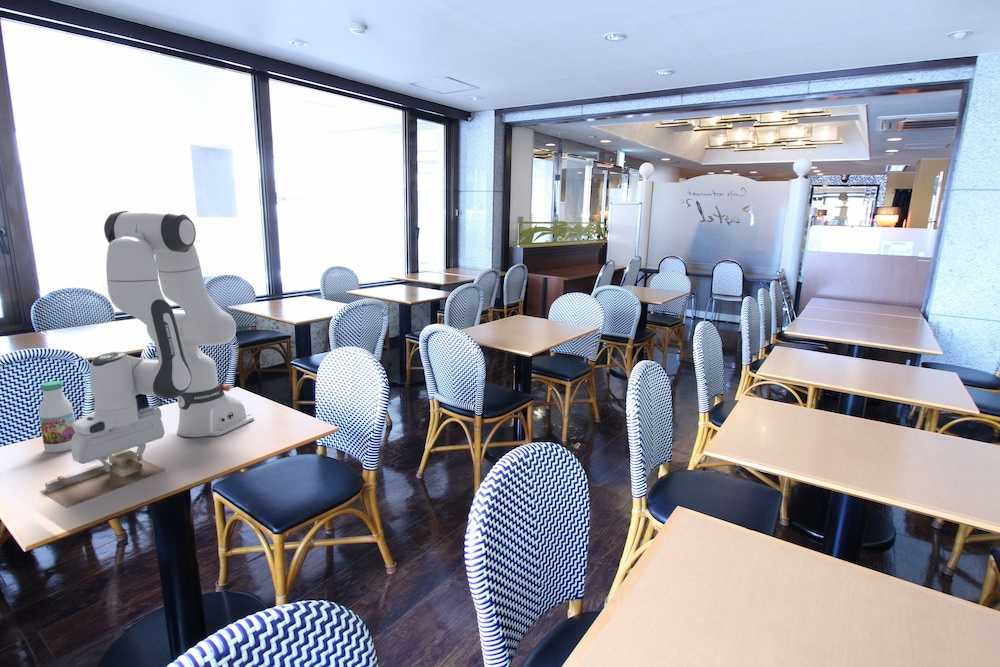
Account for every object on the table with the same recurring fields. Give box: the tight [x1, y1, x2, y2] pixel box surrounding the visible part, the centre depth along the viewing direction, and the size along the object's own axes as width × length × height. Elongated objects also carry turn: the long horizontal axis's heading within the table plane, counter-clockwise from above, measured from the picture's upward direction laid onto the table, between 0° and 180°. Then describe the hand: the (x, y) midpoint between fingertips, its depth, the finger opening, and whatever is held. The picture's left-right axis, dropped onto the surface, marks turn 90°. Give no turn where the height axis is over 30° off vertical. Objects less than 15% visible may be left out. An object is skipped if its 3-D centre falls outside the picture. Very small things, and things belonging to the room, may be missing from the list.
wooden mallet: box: [108, 449, 142, 477], centre depth 136 cm, size 4×11×5 cm, turn 60°
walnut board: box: [39, 459, 167, 509], centre depth 132 cm, size 22×14×4 cm, turn 150°
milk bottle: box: [38, 380, 77, 454], centre depth 151 cm, size 8×8×20 cm
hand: (124, 465), depth 137 cm, fingers open, 5 cm apart
